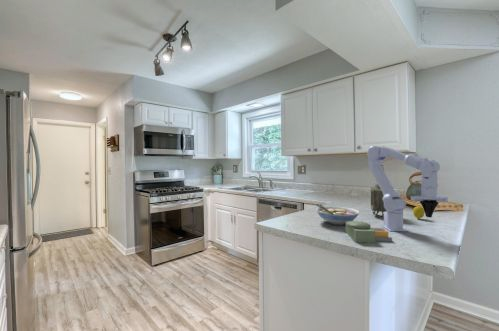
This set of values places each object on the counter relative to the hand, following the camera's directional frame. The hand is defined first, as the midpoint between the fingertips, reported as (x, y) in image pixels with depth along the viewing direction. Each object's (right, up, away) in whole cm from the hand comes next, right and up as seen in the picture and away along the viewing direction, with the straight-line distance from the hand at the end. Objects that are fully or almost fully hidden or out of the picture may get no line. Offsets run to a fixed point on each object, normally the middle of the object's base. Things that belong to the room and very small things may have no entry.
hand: (428, 216), depth 109 cm
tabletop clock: (+1, -9, +42) cm, 43 cm away
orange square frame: (-24, -10, 0) cm, 26 cm away
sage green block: (-28, -9, 0) cm, 29 cm away
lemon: (+20, -9, +35) cm, 41 cm away
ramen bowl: (-32, -9, +25) cm, 42 cm away
